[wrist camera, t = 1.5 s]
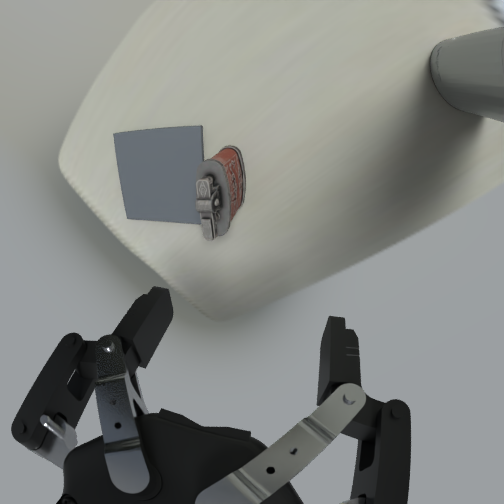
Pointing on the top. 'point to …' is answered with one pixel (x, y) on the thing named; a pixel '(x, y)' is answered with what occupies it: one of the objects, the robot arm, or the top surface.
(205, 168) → the lighter
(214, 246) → the top surface
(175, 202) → the mat
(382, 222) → the top surface
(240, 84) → the top surface
